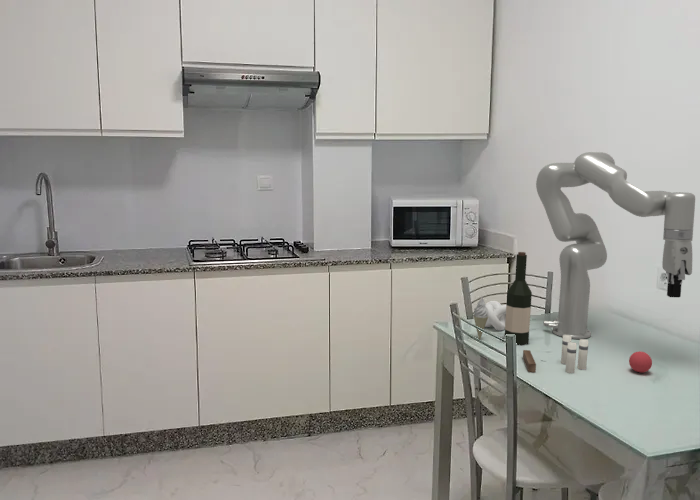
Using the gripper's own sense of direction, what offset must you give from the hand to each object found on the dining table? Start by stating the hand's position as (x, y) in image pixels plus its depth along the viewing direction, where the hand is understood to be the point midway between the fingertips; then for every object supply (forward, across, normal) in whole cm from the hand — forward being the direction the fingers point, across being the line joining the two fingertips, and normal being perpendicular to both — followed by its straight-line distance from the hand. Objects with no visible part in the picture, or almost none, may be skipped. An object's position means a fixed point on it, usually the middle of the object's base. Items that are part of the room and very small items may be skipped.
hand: (673, 296), depth 178 cm
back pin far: (+20, -4, +31) cm, 37 cm away
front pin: (+20, -8, +27) cm, 35 cm away
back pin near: (+20, -11, +31) cm, 39 cm away
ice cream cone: (+19, +15, +55) cm, 60 cm away
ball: (+18, -8, +11) cm, 22 cm away
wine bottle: (+19, +14, +43) cm, 49 cm away
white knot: (+19, +30, +47) cm, 59 cm away
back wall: (+20, -8, +42) cm, 47 cm away
